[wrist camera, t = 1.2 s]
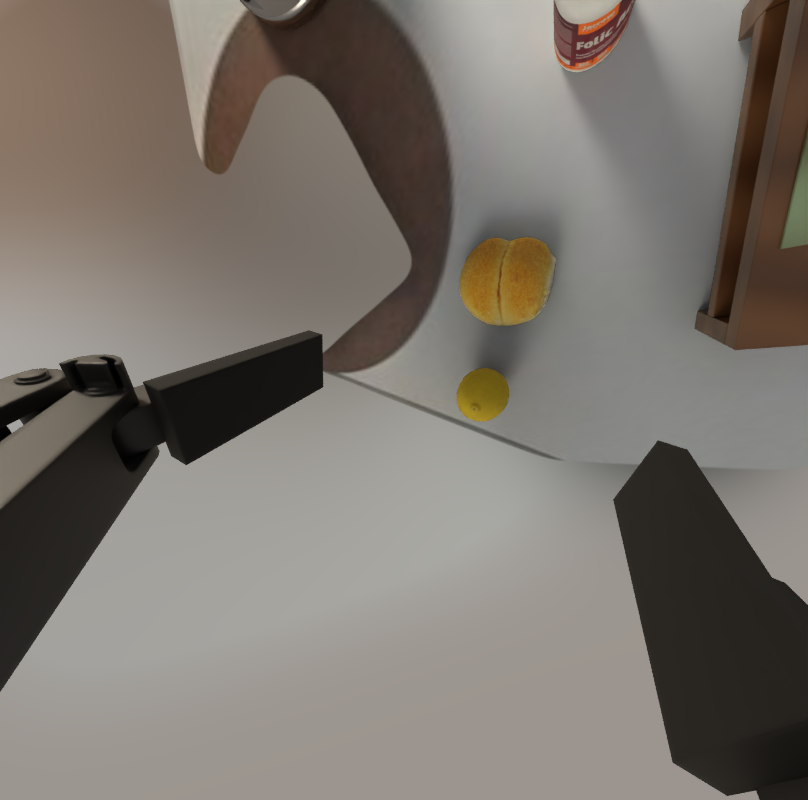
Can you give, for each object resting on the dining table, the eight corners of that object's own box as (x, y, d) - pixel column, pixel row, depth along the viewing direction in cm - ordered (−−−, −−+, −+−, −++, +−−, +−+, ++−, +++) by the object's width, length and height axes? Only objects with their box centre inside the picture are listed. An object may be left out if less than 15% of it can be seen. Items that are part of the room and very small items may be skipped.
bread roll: (466, 239, 30) (455, 237, 27) (562, 237, 26) (563, 234, 23) (459, 320, 33) (449, 326, 30) (542, 327, 30) (540, 335, 27)
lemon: (522, 372, 33) (513, 400, 26) (499, 409, 36) (487, 442, 29) (478, 352, 34) (459, 374, 28) (460, 389, 37) (440, 417, 31)
